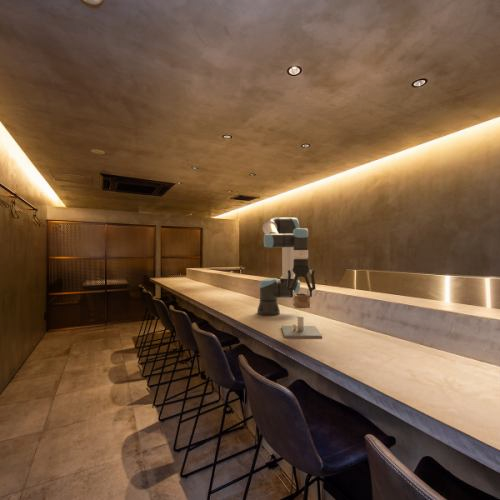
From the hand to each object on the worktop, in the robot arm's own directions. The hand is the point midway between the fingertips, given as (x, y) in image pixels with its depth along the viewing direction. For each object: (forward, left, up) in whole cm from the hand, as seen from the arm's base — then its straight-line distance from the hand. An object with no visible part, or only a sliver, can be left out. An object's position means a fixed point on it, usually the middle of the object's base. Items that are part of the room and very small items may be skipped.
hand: (301, 303), depth 148 cm
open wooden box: (0, 0, -1) cm, 1 cm away
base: (0, 0, -15) cm, 15 cm away
